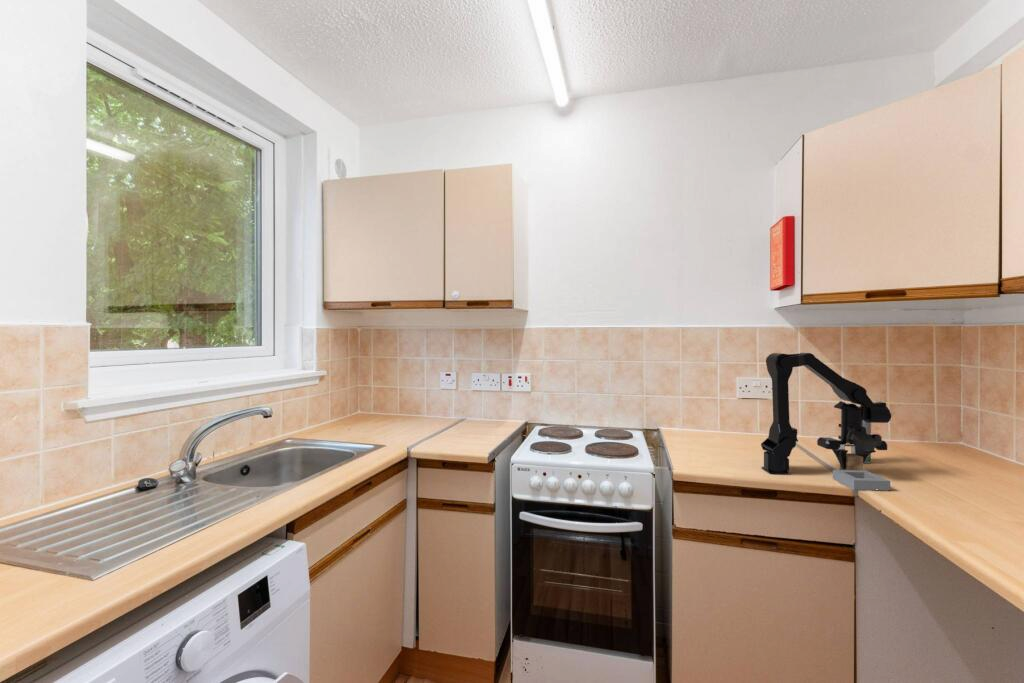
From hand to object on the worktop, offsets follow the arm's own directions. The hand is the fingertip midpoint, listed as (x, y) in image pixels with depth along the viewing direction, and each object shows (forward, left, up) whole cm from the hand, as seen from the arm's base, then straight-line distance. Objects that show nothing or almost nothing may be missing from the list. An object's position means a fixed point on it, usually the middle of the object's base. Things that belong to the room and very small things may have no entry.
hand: (851, 469), depth 148 cm
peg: (0, 0, -1) cm, 1 cm away
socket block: (-5, -12, -1) cm, 13 cm away
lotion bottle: (+12, +14, -1) cm, 18 cm away
